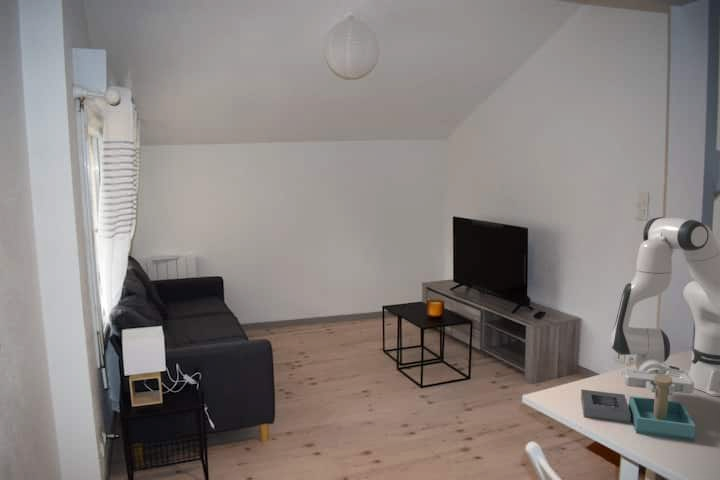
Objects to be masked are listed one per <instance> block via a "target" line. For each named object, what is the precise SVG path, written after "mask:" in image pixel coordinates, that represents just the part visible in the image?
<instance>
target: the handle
mask: <svg viewBox="0 0 720 480" xmlns="http://www.w3.org/2000/svg"><path fill="white" fill-rule="evenodd" d="M654 383H655V384H656V385H657V393H654V394H655V396H654V399H655V401H654V419H657V420H665V421H666V419H665V418H666V415H667V409H668V401H669V394H668V386H671V384H672V378H671V377H670V376H667V375H663V374H659V375H656V376H655V377H654Z"/></svg>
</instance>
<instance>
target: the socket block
mask: <svg viewBox="0 0 720 480" xmlns="http://www.w3.org/2000/svg"><path fill="white" fill-rule="evenodd" d="M580 401H581V407H582V408H581V409H582V413H583V415H582V416H583V418H589V419H596V420H603V421H611V422H617V423H625V424H630V423H631V416H630V414H631V413H630V410H629V403H628V401H627V399H626V396H625V394H623V393H616V392H615V393H614V392H607V391H606V392H605V391H597V390H589V389H582V388H581V391H580ZM612 406H614V407H612Z"/></svg>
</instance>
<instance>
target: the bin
mask: <svg viewBox="0 0 720 480" xmlns="http://www.w3.org/2000/svg"><path fill="white" fill-rule="evenodd" d="M654 401H655V398H651V397H650V398H648V397H643V396H642V397H641V396H633V395H629V398H628V407H629V410H630V413H631V414H630V415H631V416H630V419H631V418H632V419H631V421H632V424H633V428H634V430H635V433H636V434H641V435H647V436H649V435H650V436H655V437H663V438H669V439H678V440H683V441H690V442H694V441H695V436H696V435H695V434H696V424H695V422H694V420H693V419H692V418H691V415H690V413H689V412H688V410H687V408H686V406H685V405H684V402H681V401H674V400H668V409H667V415H666V418H665V419H666V421H665V420H657V419H654Z"/></svg>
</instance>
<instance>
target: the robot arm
mask: <svg viewBox="0 0 720 480" xmlns="http://www.w3.org/2000/svg"><path fill="white" fill-rule="evenodd" d="M718 243H719V242H718V241H717V238H716V237H715V234H714V233H713V231H712V229H711V228H710V227H709V226H708V225H706V224H704V223H702V222H701V221H698V220H695V219H687V218H682V217H661V216H659V217H654V218H651V219H649V220H648V221H647V222H646V224H645V226H644V228H643V241H642V242H641V243H640V245H639V248H638V251H637V257H636V266H635V274H634V277H633V279H632V280H631V281H630V282H629V283H627V284H626V285H625V286H624V289H623V291H622V294H621V299H620V302H619V306H618V310H617V314H616V320H615V323H614V326H613V330H612V332H611V335H610V346H611V348H612V349H613V351H614V352H616V353H617V354H619V355H620V356H625V355H627V356H628V355H629V356H631V355H634V363H635V364H634V365H635V368H636V369H633V368H632V369H631V368H628V369H626V370H622V371H621V375H622V376H623V377H624V384H625V386H627V387H632V388H641V389H647V390H648V391H650V392H651V393H654V394H656V393H657V385H656V384H655V383H654V377H655V376H656V375H659V374H663V375H667V376H670V377H671V378H672V384H671V386H668V395H672V396H674V393H682V394H687V395H691V394H693V393H694V389H696V390H698V391H702V392H704V393H707V394H709V395H711V396H714V397H720V246H719V244H718ZM675 250H681V251H683V256H684V259H685V262H686V265H687V269H688V271H689V274H690V276H691V278H692V279H693V280H691V281H689V282H688V283H687V284H686V285H685V287H684V288H683V293H682V295H683V299H684V300H685V302H686V303H687V305H688V307H689V308H690V310H691V314H692V318H693V321H694V322H693V323H694V327H695V329H694V340H693V341H694V343H693V346H692V349H691V355H690V356H691V357H690V358H691V359H690V360H691V364H690V368H689V371H688V374H687V373H685V371H684V369H683V368H680V367H678V366H672V365H669V364H667V363H665V362H666V361H667V360H668V359H669V357H670V354H671V342H670V338H669V337H668V335H667V334H666V333H665V331H663V330H662V329H661V328H650V327H645V328H644V327H630V325H629V324H630V320H631V316H632V312H633V309H634V307H635V305H637V303H639V302H641V301H644V300H647V299H650V298H654V297H657V296H660V295H661V294H663V293H664V292H666V291H667V290H668V289H669V287H670V286H671V283H672V282H671V281H672V277H673V262H672V261H673V260H672V256H673V253H674V251H675Z"/></svg>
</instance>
